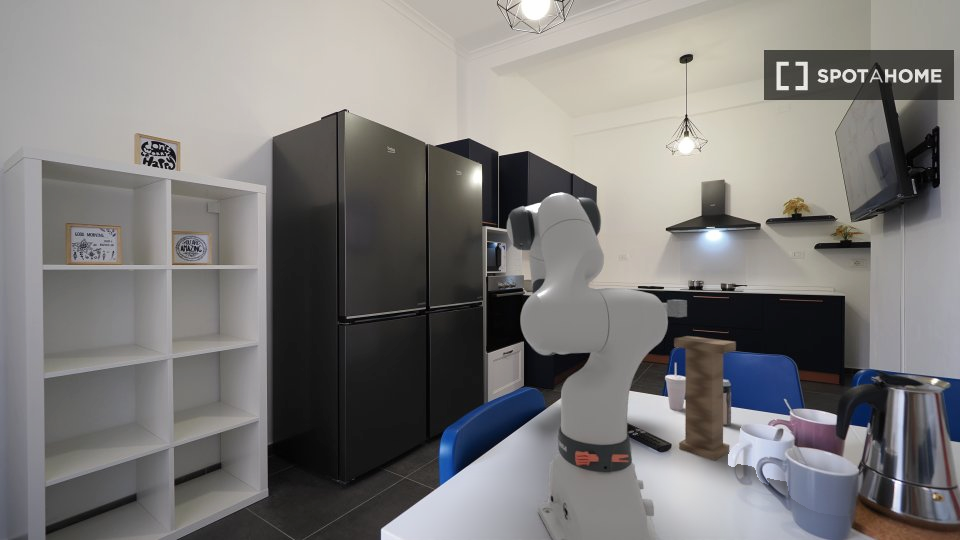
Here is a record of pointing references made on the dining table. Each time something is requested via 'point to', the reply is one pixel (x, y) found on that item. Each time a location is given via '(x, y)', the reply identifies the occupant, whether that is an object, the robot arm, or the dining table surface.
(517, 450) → the dining table surface
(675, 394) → the smoothie
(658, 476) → the dining table surface
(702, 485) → the dining table surface
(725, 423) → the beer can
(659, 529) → the dining table surface
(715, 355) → the walnut stand
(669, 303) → the grey long block
